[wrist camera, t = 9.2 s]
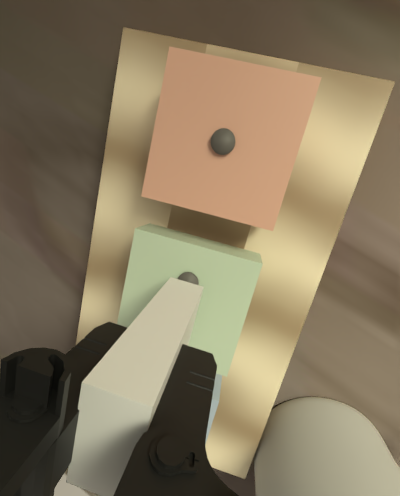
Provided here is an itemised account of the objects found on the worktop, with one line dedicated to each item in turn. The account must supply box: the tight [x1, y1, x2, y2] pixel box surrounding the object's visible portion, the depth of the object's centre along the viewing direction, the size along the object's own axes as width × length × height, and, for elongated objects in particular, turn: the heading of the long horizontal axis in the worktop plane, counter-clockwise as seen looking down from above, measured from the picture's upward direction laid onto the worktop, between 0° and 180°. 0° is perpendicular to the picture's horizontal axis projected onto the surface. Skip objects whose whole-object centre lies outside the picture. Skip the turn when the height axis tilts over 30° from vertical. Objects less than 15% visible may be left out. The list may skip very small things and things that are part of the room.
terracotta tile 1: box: [141, 46, 322, 231], centre depth 13 cm, size 6×6×4 cm
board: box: [76, 27, 395, 479], centre depth 16 cm, size 24×13×2 cm, turn 166°
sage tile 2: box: [117, 223, 263, 377], centre depth 15 cm, size 6×6×4 cm
